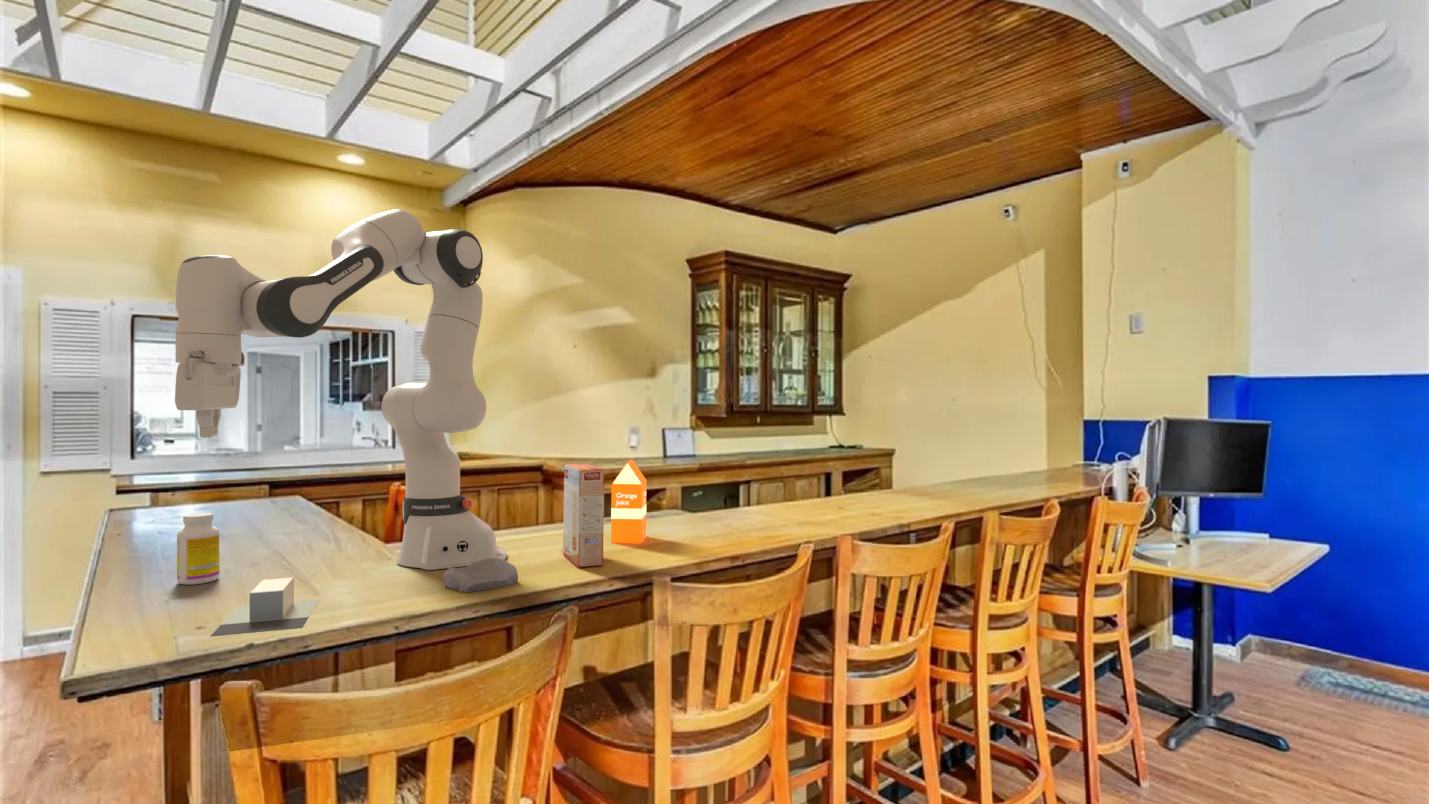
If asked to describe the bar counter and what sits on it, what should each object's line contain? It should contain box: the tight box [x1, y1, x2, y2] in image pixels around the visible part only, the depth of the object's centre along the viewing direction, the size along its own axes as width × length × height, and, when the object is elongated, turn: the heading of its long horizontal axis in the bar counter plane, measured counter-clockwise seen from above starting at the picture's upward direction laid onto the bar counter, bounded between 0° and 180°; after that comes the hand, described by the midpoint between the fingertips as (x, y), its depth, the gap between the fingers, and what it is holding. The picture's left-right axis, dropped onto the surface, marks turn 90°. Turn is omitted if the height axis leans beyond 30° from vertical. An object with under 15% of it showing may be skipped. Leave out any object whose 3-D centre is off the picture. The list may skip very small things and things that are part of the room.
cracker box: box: [562, 463, 606, 568], centre depth 158 cm, size 14×6×21 cm, turn 25°
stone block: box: [442, 558, 519, 594], centre depth 138 cm, size 12×5×10 cm
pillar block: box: [249, 576, 295, 622], centre depth 118 cm, size 4×4×9 cm
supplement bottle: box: [176, 512, 220, 586], centre depth 138 cm, size 7×7×13 cm
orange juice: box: [610, 458, 648, 544], centre depth 181 cm, size 8×9×20 cm
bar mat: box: [210, 599, 320, 637], centre depth 116 cm, size 12×16×1 cm
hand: (208, 437), depth 118 cm, fingers closed
